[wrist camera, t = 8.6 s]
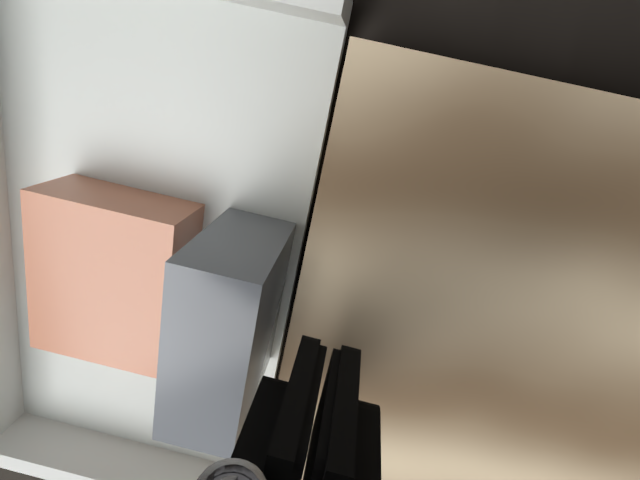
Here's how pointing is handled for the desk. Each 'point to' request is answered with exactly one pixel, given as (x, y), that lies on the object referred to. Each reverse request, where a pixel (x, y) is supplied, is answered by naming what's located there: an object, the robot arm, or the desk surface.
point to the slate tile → (218, 329)
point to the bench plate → (480, 267)
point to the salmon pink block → (100, 267)
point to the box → (148, 179)
